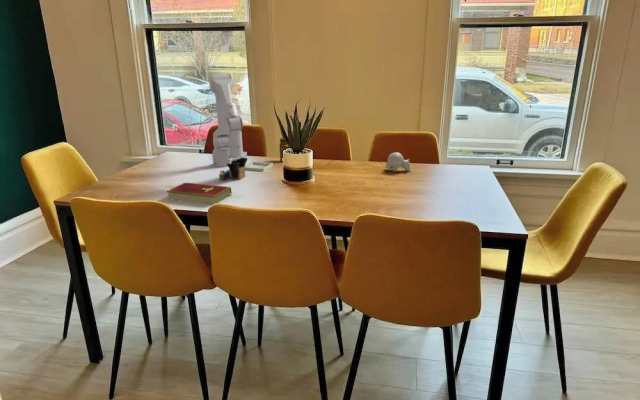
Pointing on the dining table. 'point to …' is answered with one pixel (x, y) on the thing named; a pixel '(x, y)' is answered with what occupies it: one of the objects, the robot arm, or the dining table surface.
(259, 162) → the tray
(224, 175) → the crank
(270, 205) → the dining table surface
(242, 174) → the block
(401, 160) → the toy rhinoceros
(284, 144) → the condiment
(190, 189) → the hardcover book
